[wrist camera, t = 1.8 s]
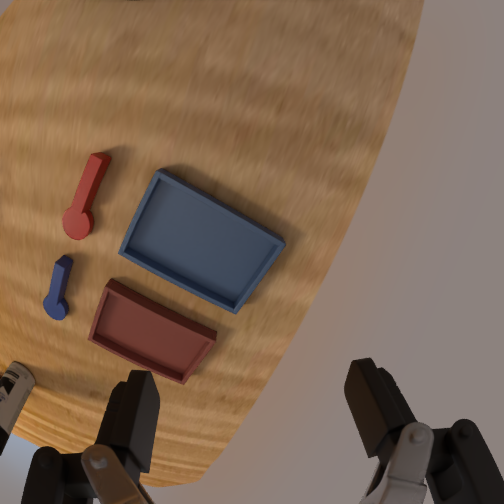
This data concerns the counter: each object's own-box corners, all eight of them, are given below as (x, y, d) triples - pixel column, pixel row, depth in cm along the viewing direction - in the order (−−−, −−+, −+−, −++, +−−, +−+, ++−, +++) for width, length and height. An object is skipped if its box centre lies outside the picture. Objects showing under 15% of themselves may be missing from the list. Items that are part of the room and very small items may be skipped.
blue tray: (123, 246, 31) (117, 253, 29) (161, 167, 28) (156, 170, 26) (235, 305, 35) (236, 314, 33) (283, 237, 32) (286, 244, 30)
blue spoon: (66, 320, 34) (59, 330, 32) (45, 306, 33) (38, 315, 31) (80, 265, 31) (72, 273, 29) (57, 250, 30) (47, 257, 28)
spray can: (24, 362, 38) (-18, 437, 19) (41, 386, 40) (7, 460, 22) (6, 359, 37) (-35, 428, 19) (22, 383, 40) (-12, 450, 22)
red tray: (92, 331, 35) (87, 339, 33) (110, 278, 32) (105, 286, 30) (185, 375, 39) (183, 385, 37) (216, 331, 36) (216, 341, 34)
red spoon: (88, 242, 30) (79, 250, 28) (63, 227, 29) (53, 233, 27) (120, 162, 27) (112, 165, 25) (92, 147, 26) (82, 148, 24)
